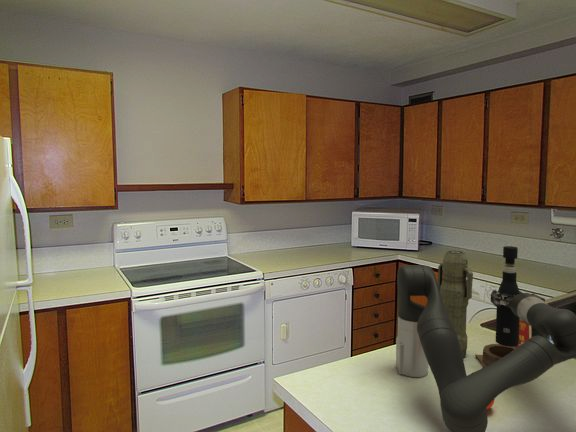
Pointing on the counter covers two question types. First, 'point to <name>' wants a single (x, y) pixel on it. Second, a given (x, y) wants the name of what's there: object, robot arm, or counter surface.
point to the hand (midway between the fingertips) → (505, 293)
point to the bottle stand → (493, 353)
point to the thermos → (456, 291)
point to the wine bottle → (504, 316)
